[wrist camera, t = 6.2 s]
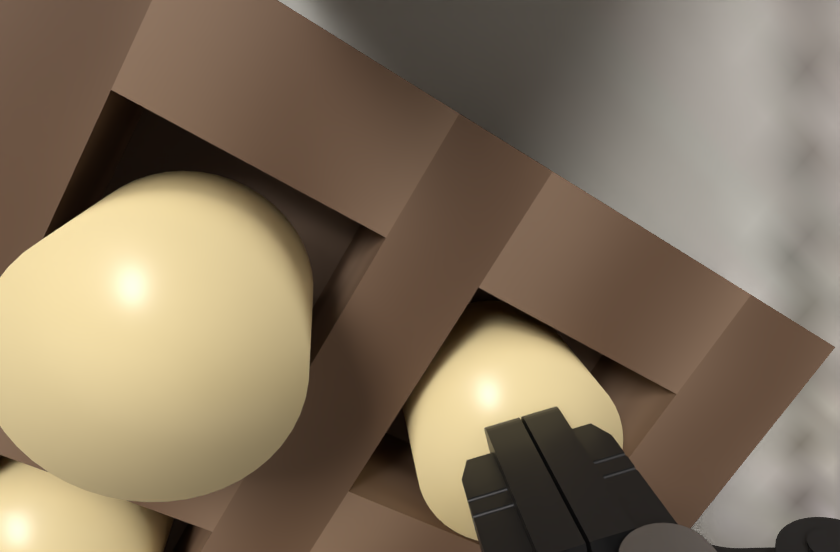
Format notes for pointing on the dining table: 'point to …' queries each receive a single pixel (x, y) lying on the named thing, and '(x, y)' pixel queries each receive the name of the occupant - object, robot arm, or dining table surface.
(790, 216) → the dining table surface
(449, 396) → the button
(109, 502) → the button
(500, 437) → the robot arm
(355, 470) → the button board
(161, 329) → the button
